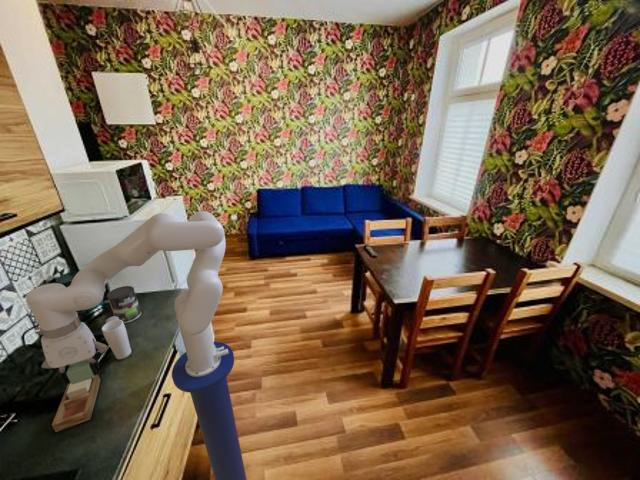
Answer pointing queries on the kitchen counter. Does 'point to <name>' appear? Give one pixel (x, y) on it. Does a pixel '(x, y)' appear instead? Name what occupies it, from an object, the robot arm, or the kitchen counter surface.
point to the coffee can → (124, 303)
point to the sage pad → (79, 371)
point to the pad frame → (76, 407)
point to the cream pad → (79, 388)
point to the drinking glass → (117, 338)
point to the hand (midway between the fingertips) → (84, 373)
